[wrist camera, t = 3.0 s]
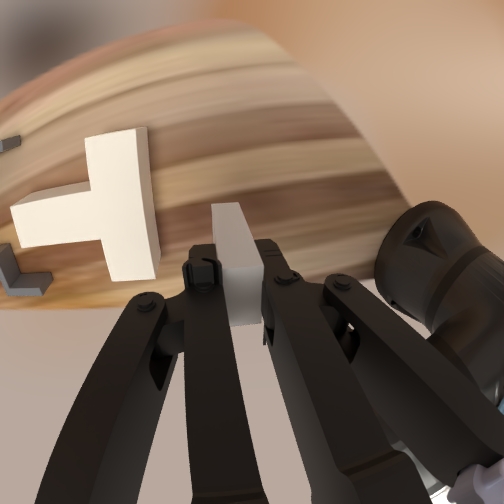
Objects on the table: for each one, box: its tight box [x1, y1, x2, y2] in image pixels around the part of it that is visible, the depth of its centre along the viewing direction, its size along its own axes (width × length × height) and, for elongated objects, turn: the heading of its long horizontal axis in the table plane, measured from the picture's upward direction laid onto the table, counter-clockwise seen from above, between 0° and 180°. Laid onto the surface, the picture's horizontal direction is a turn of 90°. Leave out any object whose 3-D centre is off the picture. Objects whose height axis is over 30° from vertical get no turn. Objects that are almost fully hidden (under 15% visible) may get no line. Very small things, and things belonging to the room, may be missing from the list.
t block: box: [10, 127, 161, 281], centre depth 19 cm, size 13×12×4 cm
